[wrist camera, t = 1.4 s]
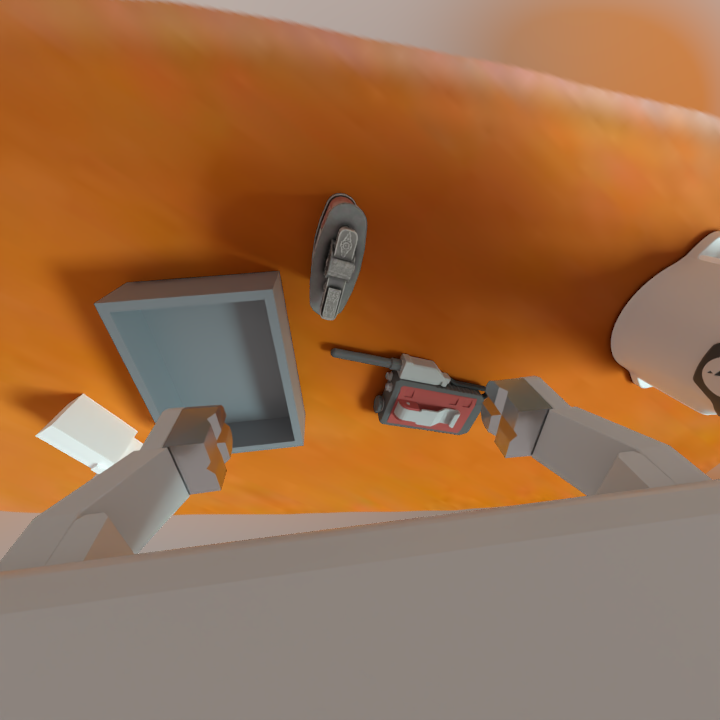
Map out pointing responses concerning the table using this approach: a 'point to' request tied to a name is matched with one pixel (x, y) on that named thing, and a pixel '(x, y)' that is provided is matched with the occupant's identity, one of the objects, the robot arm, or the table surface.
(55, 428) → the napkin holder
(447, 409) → the walkie-talkie
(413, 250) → the table surface
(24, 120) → the table surface
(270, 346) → the grey tray
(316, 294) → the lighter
